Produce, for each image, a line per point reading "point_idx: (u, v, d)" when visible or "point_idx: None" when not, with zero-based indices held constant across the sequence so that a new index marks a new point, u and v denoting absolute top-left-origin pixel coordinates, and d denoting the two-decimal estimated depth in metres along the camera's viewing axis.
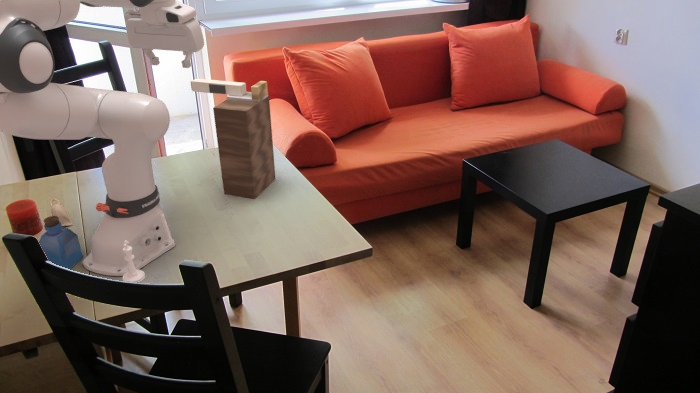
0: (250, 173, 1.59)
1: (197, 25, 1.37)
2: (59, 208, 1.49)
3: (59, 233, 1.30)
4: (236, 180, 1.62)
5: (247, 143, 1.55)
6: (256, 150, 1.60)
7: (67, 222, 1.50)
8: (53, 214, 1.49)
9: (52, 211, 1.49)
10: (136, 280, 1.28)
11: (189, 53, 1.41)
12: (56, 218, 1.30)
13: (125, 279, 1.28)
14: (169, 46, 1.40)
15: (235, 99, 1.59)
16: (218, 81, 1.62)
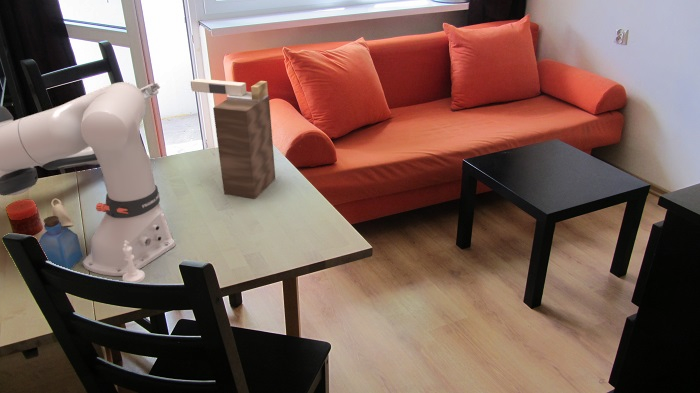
0: (250, 173, 1.59)
1: None
2: (60, 208, 1.49)
3: (59, 233, 1.30)
4: (236, 180, 1.62)
5: (247, 143, 1.55)
6: (256, 150, 1.60)
7: (68, 222, 1.50)
8: (54, 214, 1.49)
9: (53, 211, 1.49)
10: (136, 280, 1.28)
11: None
12: (56, 218, 1.30)
13: (125, 279, 1.28)
14: None
15: (235, 99, 1.59)
16: (218, 81, 1.62)
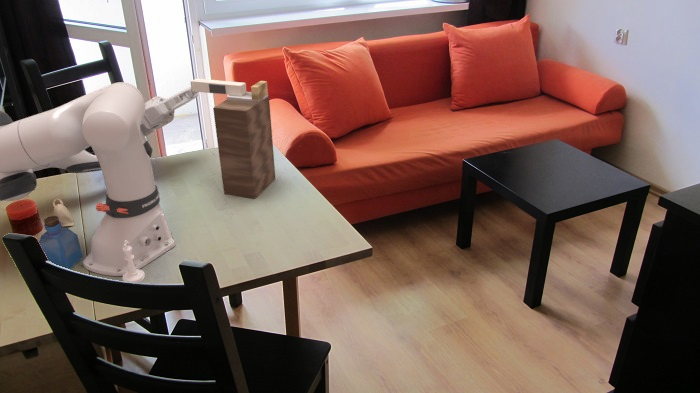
0: (250, 173, 1.59)
1: (144, 113, 1.64)
2: (61, 208, 1.49)
3: (59, 233, 1.30)
4: (236, 180, 1.62)
5: (247, 143, 1.55)
6: (256, 150, 1.60)
7: (69, 222, 1.50)
8: (55, 214, 1.49)
9: (54, 211, 1.49)
10: (136, 280, 1.28)
11: (169, 106, 1.64)
12: (56, 218, 1.30)
13: (125, 279, 1.28)
14: (175, 108, 1.69)
15: (235, 99, 1.59)
16: (218, 81, 1.62)
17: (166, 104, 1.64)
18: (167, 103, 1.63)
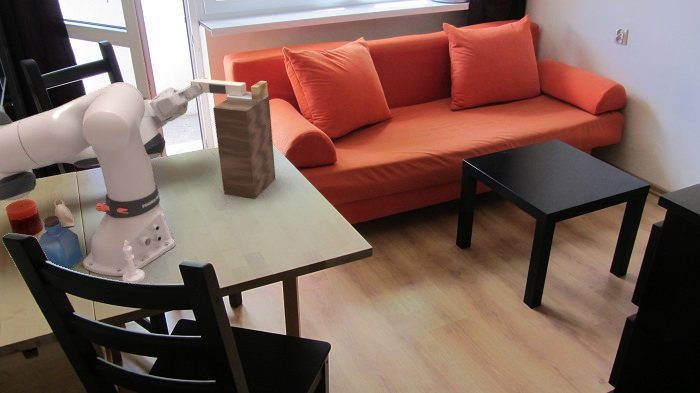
0: (250, 173, 1.59)
1: (158, 105, 1.60)
2: (62, 208, 1.49)
3: (59, 233, 1.30)
4: (236, 180, 1.62)
5: (247, 143, 1.55)
6: (256, 150, 1.60)
7: (70, 222, 1.50)
8: (56, 214, 1.49)
9: (55, 211, 1.49)
10: (136, 280, 1.28)
11: (188, 94, 1.62)
12: (56, 218, 1.30)
13: (125, 279, 1.28)
14: (189, 100, 1.65)
15: (235, 99, 1.59)
16: (218, 81, 1.62)
17: (185, 93, 1.62)
18: (186, 92, 1.62)
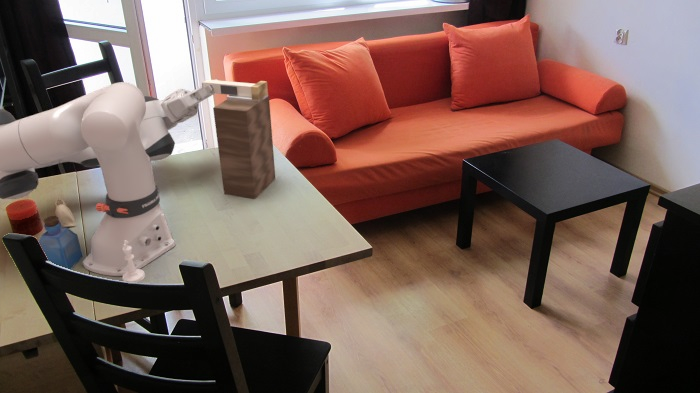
0: (250, 173, 1.59)
1: (169, 106, 1.59)
2: (63, 209, 1.49)
3: (59, 233, 1.30)
4: (236, 180, 1.62)
5: (247, 143, 1.55)
6: (256, 150, 1.60)
7: (70, 222, 1.50)
8: (57, 214, 1.49)
9: (56, 211, 1.49)
10: (136, 279, 1.28)
11: (199, 96, 1.61)
12: (56, 218, 1.30)
13: (125, 279, 1.28)
14: None
15: (235, 99, 1.59)
16: (230, 82, 1.61)
17: (197, 94, 1.61)
18: (198, 93, 1.61)
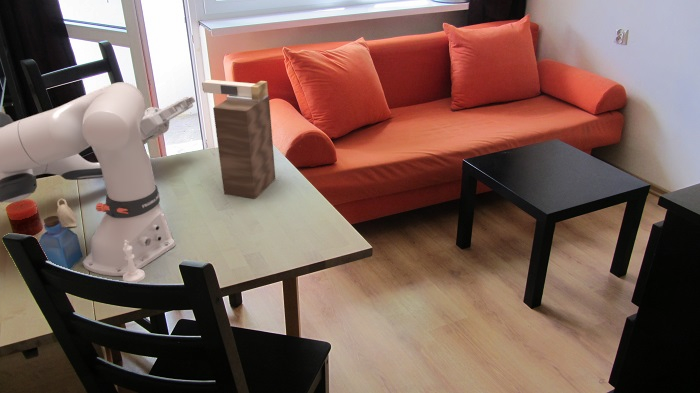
0: (250, 173, 1.59)
1: (139, 124, 1.66)
2: (64, 209, 1.49)
3: (59, 233, 1.30)
4: (236, 180, 1.62)
5: (247, 143, 1.55)
6: (256, 150, 1.60)
7: (71, 223, 1.50)
8: (58, 214, 1.49)
9: (57, 211, 1.49)
10: (137, 279, 1.28)
11: (163, 117, 1.65)
12: (56, 218, 1.30)
13: (126, 279, 1.28)
14: (170, 119, 1.70)
15: (235, 99, 1.59)
16: (230, 82, 1.61)
17: (161, 115, 1.65)
18: (162, 114, 1.65)
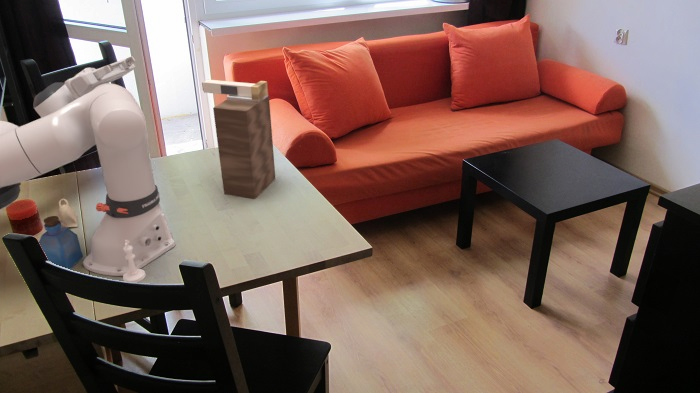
0: (250, 173, 1.59)
1: (72, 84, 1.55)
2: (65, 209, 1.49)
3: (59, 233, 1.30)
4: (236, 180, 1.62)
5: (247, 143, 1.55)
6: (256, 150, 1.60)
7: (72, 223, 1.49)
8: (59, 215, 1.49)
9: (59, 212, 1.49)
10: (138, 279, 1.28)
11: (98, 76, 1.54)
12: (56, 218, 1.30)
13: (126, 278, 1.28)
14: (107, 79, 1.59)
15: (235, 99, 1.59)
16: (230, 82, 1.61)
17: (95, 74, 1.54)
18: (96, 73, 1.54)
